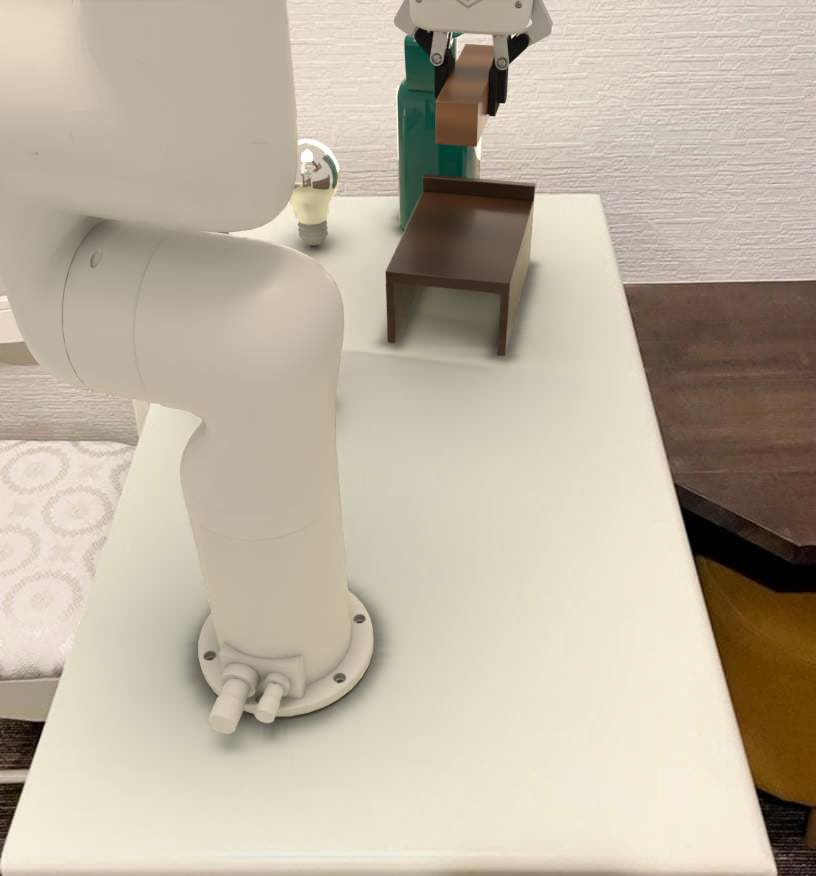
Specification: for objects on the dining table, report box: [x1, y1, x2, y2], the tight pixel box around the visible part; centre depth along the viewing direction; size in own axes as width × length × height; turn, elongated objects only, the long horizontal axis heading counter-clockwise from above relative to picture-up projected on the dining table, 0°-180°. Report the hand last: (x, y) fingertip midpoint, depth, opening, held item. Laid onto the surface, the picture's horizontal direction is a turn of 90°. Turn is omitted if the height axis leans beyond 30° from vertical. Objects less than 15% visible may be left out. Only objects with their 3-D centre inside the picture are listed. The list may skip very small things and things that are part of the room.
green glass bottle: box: [396, 32, 482, 230], centre depth 110 cm, size 10×8×22 cm
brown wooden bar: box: [436, 43, 494, 147], centre depth 88 cm, size 14×4×4 cm, turn 167°
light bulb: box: [288, 138, 341, 248], centre depth 110 cm, size 7×7×12 cm
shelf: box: [385, 174, 536, 356], centre depth 102 cm, size 18×12×10 cm, turn 168°
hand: (470, 106), depth 89 cm, fingers closed on brown wooden bar, 3 cm apart
